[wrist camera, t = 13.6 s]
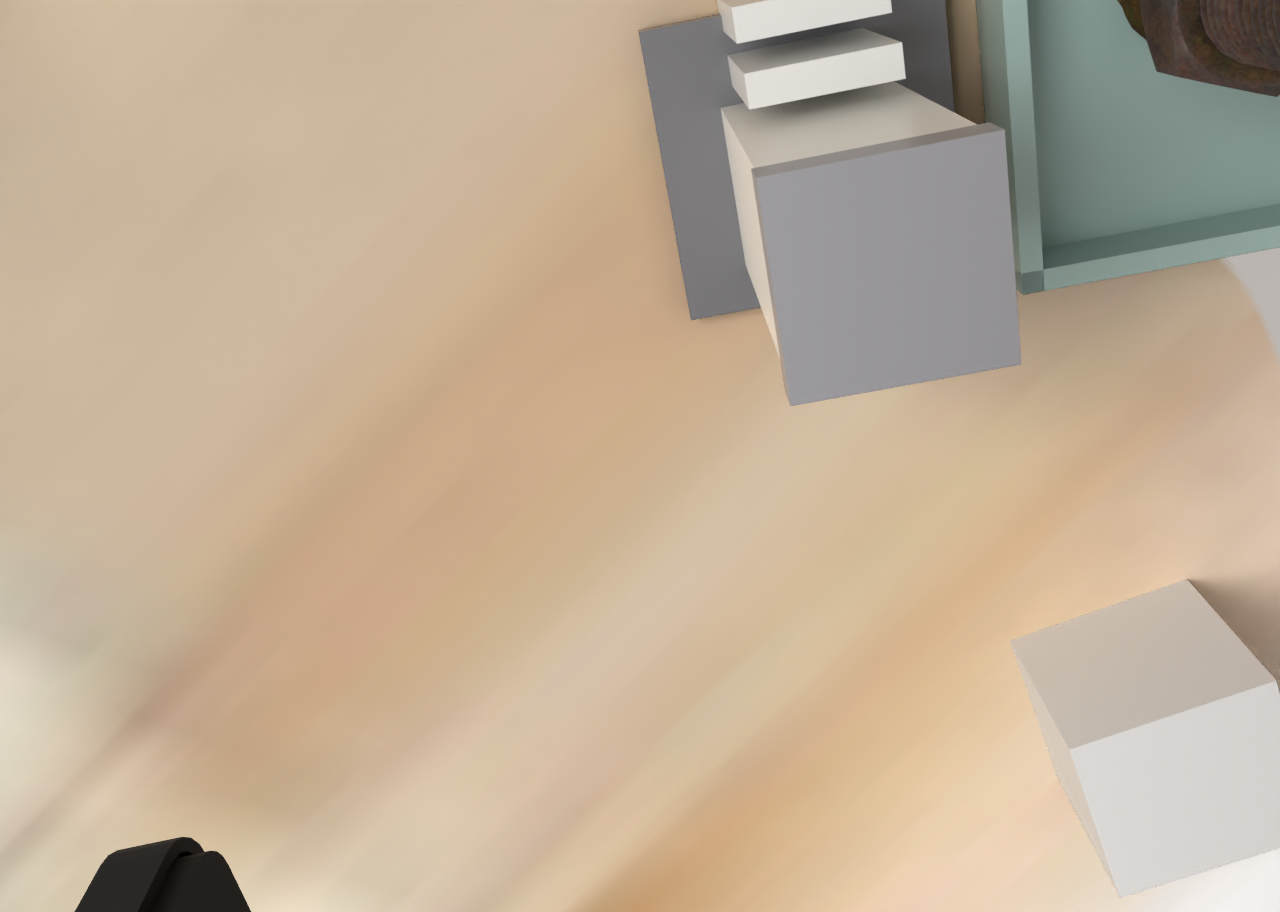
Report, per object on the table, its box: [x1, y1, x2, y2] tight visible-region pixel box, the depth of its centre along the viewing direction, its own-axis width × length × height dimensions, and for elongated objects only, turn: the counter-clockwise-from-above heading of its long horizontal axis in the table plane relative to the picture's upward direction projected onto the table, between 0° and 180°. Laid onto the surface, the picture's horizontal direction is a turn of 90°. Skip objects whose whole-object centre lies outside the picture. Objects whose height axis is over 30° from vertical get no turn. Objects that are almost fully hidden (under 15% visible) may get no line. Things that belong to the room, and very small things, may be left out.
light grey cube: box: [1010, 579, 1280, 898], centre depth 38 cm, size 6×6×6 cm
